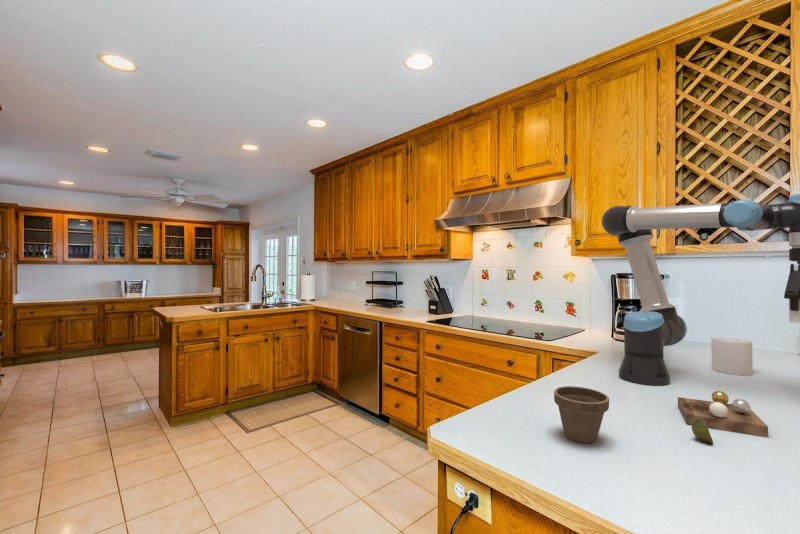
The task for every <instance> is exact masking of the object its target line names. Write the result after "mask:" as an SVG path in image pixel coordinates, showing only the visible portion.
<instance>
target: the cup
mask: <svg viewBox="0 0 800 534" xmlns="http://www.w3.org/2000/svg"><path fill="white" fill-rule="evenodd" d="M753 364H754V363H753V341H751V340H749V339H748V340H747V339H742V338H733V337H721V336H720V337H712V338H711V370H712V371H714V372H717V373H721V374H726V375H732V376H744V377H745V376H752V375H753Z"/></svg>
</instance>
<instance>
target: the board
mask: <svg viewBox="0 0 800 534" xmlns="http://www.w3.org/2000/svg"><path fill="white" fill-rule="evenodd" d="M712 403H714V401H710V400H709V401H708V400H703V399H697V398H695V399H694V398H689V397H687V398H686V397H681V396H680V397H679V396H677V407H678V410H679V412H680V414H681V415H682V418H683V419H684V422H685V424H686V425H688V426H693V423H694V421H695V420H696V419H698V418H704V420H705V423H706V425H707V427H708V429H713V430H719V431H725V432H732V433H737V434H744V435H750V436H757V437H763V438H769V426H768V425H767V424H766V423H765V421H763V420H762V419H761V418H760V417H759V416H758V415H757V413H756V412H754V410H752V409H750V411H749V412H748V413H746V414H740V413H738V412H736V411H735V410H734V409H733V408H732V403H726V404H724V405H725V406H726V407H727V409H728V414H727V415H726V416H725V417H716V416H714V415H713V414H712V413H711V412H710V410H709V406H710V405H711V404H712Z"/></svg>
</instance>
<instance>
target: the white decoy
mask: <svg viewBox="0 0 800 534" xmlns="http://www.w3.org/2000/svg"><path fill="white" fill-rule="evenodd" d="M713 402H714V401H713ZM709 410H710V412H711V413H712V414H713V415H714V416H716V417H725V416H726V415H727V414H728V409H727V407H726V406H725V405H724V404H722V403H719V402H714V403H712V404H711V405H710V406H709Z"/></svg>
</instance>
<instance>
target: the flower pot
mask: <svg viewBox="0 0 800 534" xmlns="http://www.w3.org/2000/svg"><path fill="white" fill-rule="evenodd" d="M553 394H554V395H553V399H554V400H553V401H554V403H555V404H556V406H557V407H558V410H559V415H560V416H559V417H560V421H561V424H562V429H563V432H564V435H565V437H566V438H568V439H569V440H570V441H573V442H576V443H580V444H591V443H592V444H593V443H595V442H596V440H597V438H598V436H599V434H600V433H599V432H600V429H601V425H602V423H603V418H604V414H605V413H606V412H608V411H609V408H610V397H609V396H608V395H607V394H605V393H604V392H601V391H599V390H596V389H593V388H590V387H589V388H588V387H582V386H576V385H575V386H573V385H570V386H568V385H567V386H566V385H565V386H559V387H556V388H555V389H554V392H553Z"/></svg>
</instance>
